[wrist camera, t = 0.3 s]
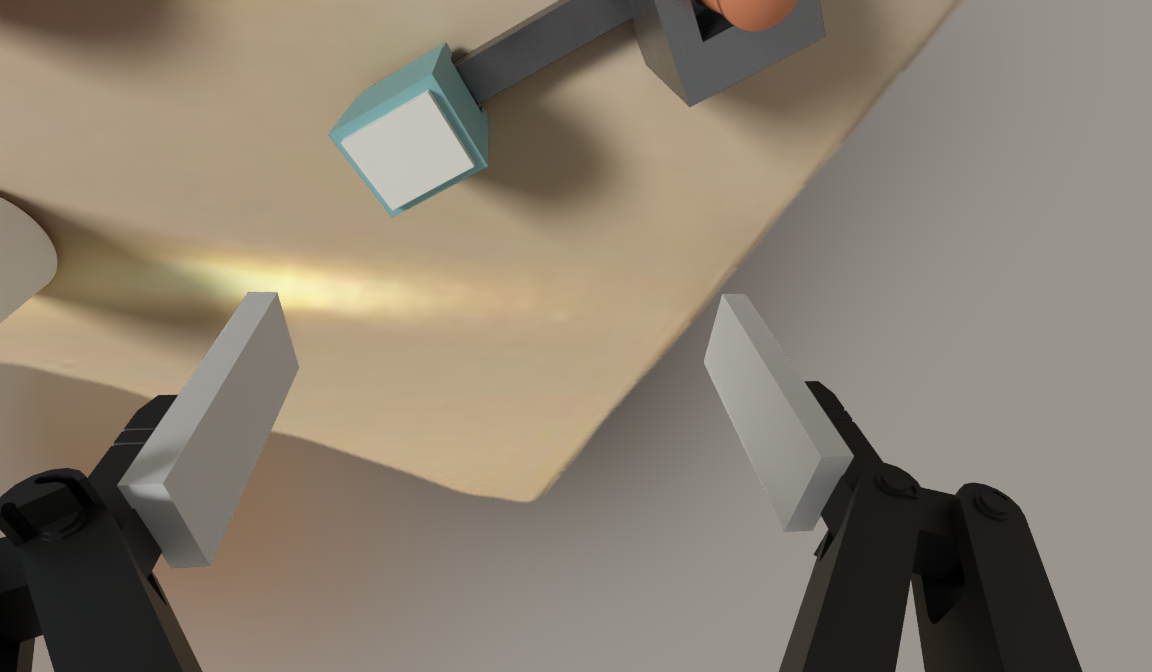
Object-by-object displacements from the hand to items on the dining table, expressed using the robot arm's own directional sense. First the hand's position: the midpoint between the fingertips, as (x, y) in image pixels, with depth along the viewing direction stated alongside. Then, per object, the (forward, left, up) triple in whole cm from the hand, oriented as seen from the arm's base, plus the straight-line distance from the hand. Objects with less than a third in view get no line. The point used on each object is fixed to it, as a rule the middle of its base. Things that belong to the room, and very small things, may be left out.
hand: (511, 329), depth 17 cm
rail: (-3, +1, -24) cm, 24 cm away
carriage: (-3, -4, -24) cm, 25 cm away
